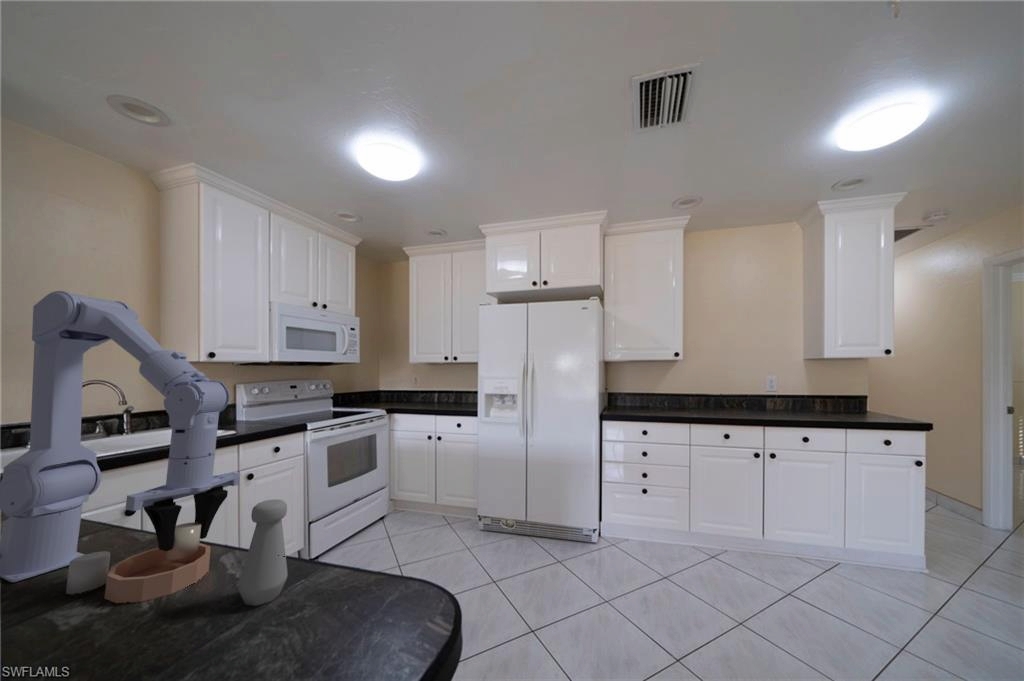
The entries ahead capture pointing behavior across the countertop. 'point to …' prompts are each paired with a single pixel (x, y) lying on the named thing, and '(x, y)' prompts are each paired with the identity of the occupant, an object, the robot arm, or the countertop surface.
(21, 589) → the countertop surface
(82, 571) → the pebble
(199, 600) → the countertop surface
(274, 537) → the salt shaker
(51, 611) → the countertop surface
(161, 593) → the bowl
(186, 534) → the pebble
